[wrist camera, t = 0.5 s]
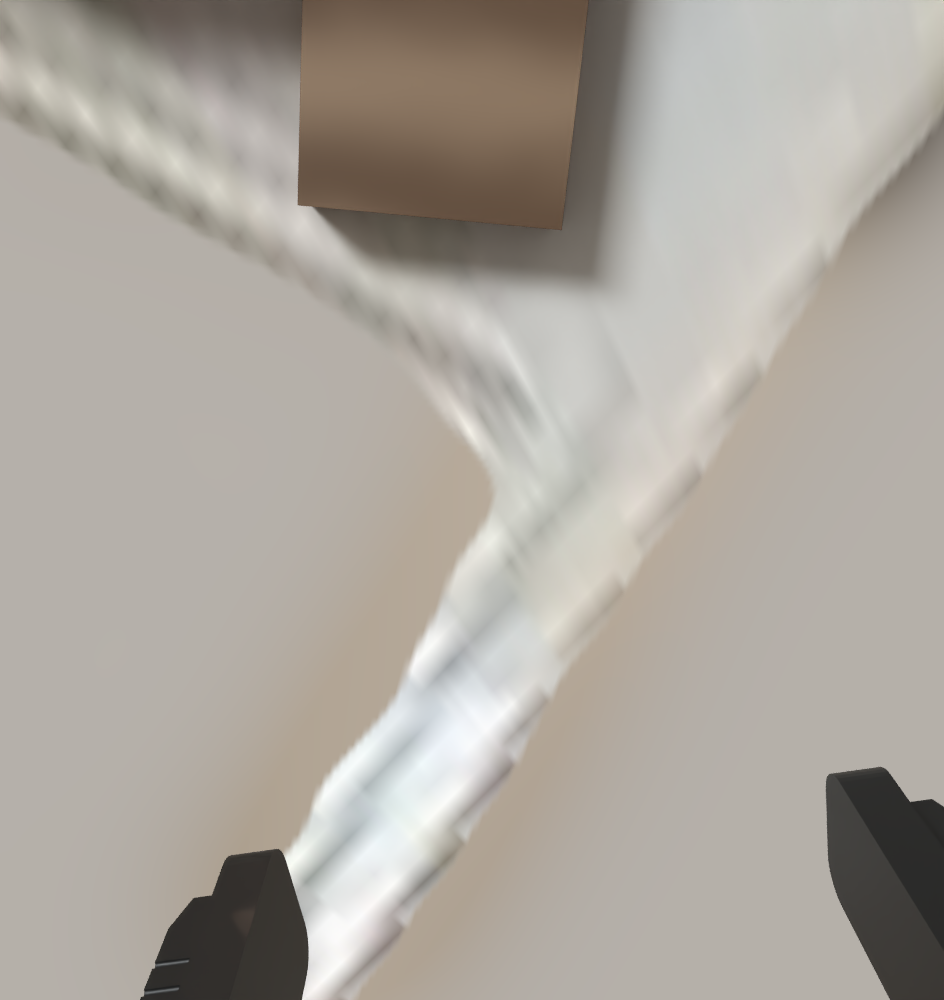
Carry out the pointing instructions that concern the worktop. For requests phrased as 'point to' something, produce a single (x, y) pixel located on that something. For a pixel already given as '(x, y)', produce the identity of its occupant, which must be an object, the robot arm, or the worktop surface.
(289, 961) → the robot arm
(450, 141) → the walnut stand
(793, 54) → the worktop surface
